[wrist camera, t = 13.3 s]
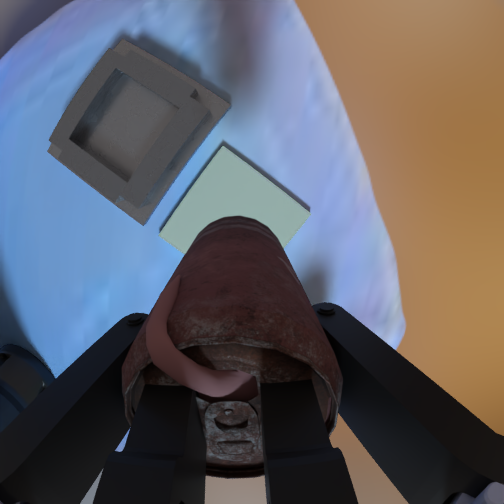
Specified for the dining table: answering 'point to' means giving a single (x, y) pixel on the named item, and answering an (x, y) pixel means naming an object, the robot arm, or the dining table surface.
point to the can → (233, 340)
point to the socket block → (134, 128)
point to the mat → (233, 202)
